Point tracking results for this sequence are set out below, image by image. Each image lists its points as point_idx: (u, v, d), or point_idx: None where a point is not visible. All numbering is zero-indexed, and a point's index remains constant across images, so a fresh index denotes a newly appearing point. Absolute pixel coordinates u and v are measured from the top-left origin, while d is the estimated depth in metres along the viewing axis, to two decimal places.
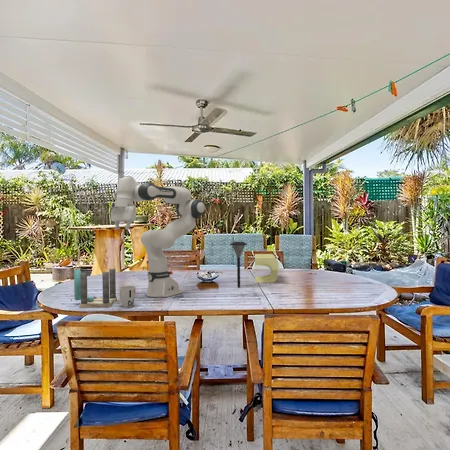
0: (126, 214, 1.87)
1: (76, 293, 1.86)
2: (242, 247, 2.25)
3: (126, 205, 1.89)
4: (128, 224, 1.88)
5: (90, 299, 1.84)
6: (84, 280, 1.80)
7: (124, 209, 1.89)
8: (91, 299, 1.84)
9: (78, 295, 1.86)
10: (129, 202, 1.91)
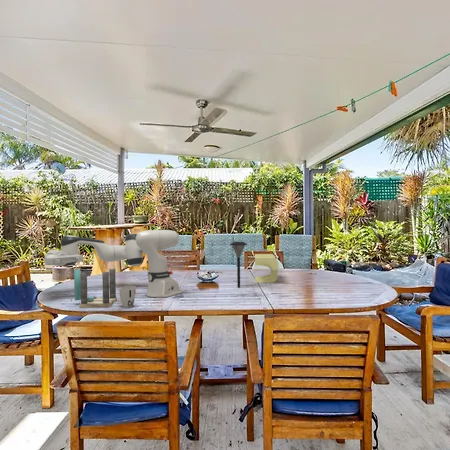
0: (74, 255, 2.05)
1: (76, 293, 1.86)
2: (242, 247, 2.25)
3: None
4: None
5: (90, 299, 1.84)
6: (84, 280, 1.80)
7: (68, 255, 2.06)
8: (91, 299, 1.84)
9: (78, 295, 1.86)
10: None
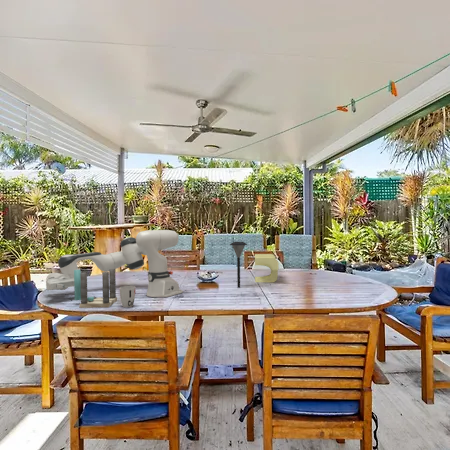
0: None
1: (76, 293, 1.86)
2: (242, 247, 2.25)
3: None
4: None
5: (90, 299, 1.84)
6: (84, 280, 1.80)
7: (70, 278, 2.01)
8: (91, 299, 1.84)
9: (78, 295, 1.86)
10: None
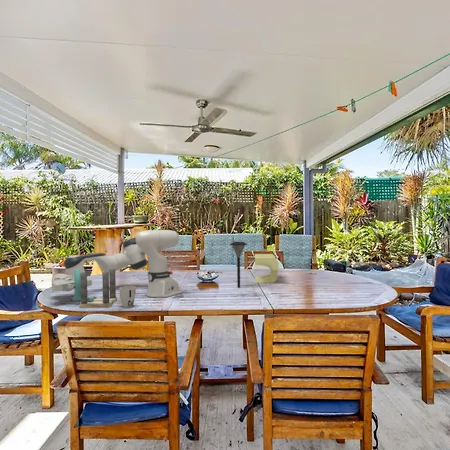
0: None
1: (76, 293, 1.86)
2: (242, 247, 2.25)
3: None
4: None
5: (90, 299, 1.84)
6: (84, 280, 1.80)
7: None
8: (91, 299, 1.84)
9: (78, 295, 1.86)
10: None
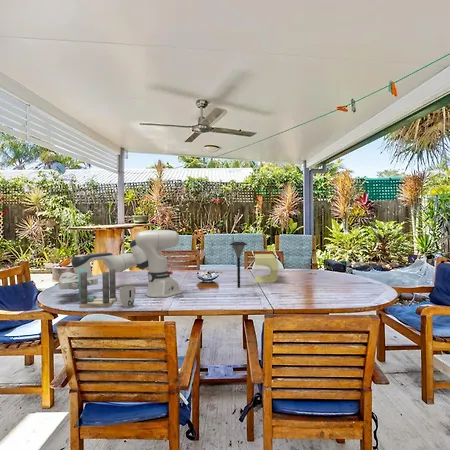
0: (88, 278, 2.00)
1: (79, 292, 1.89)
2: (242, 247, 2.25)
3: None
4: (90, 282, 1.96)
5: (89, 299, 1.84)
6: (84, 280, 1.80)
7: None
8: (90, 299, 1.84)
9: None
10: None
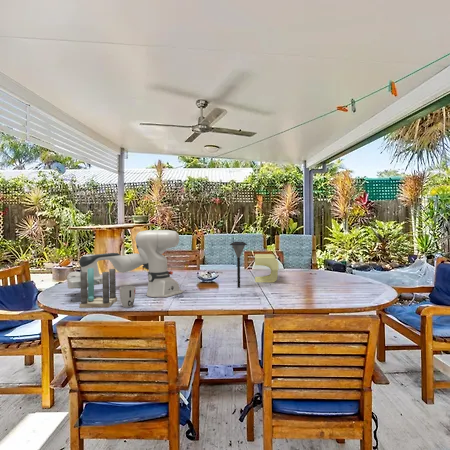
0: (96, 277, 2.03)
1: (88, 290, 1.92)
2: (242, 247, 2.25)
3: None
4: None
5: (88, 299, 1.84)
6: (84, 280, 1.80)
7: None
8: (88, 299, 1.84)
9: (89, 293, 1.91)
10: None
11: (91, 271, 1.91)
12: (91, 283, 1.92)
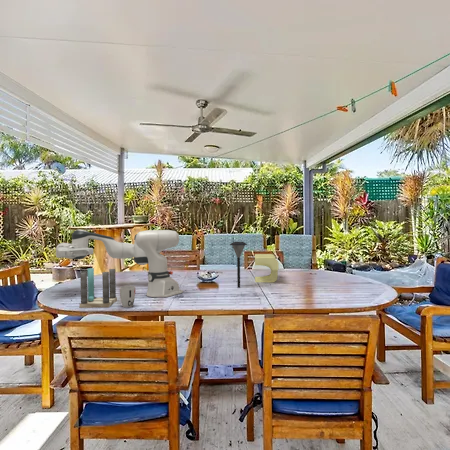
0: (84, 248, 2.10)
1: (88, 290, 1.92)
2: (242, 247, 2.25)
3: None
4: None
5: (88, 299, 1.84)
6: (84, 280, 1.80)
7: (78, 248, 2.10)
8: (88, 299, 1.84)
9: (89, 293, 1.91)
10: None
11: (91, 271, 1.91)
12: (91, 283, 1.92)
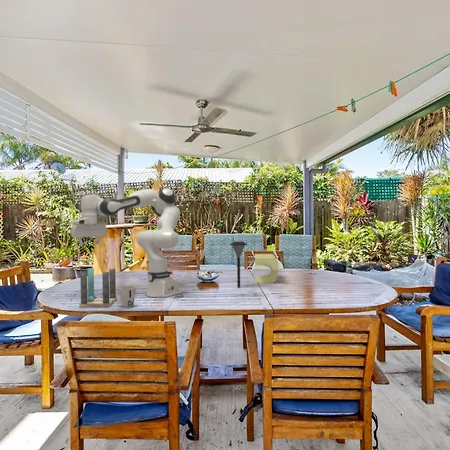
0: (100, 230, 2.08)
1: (88, 290, 1.92)
2: (242, 247, 2.25)
3: None
4: None
5: (88, 299, 1.84)
6: (84, 280, 1.80)
7: (96, 226, 2.06)
8: (88, 299, 1.84)
9: (89, 293, 1.91)
10: None
11: (91, 271, 1.91)
12: (91, 283, 1.92)
